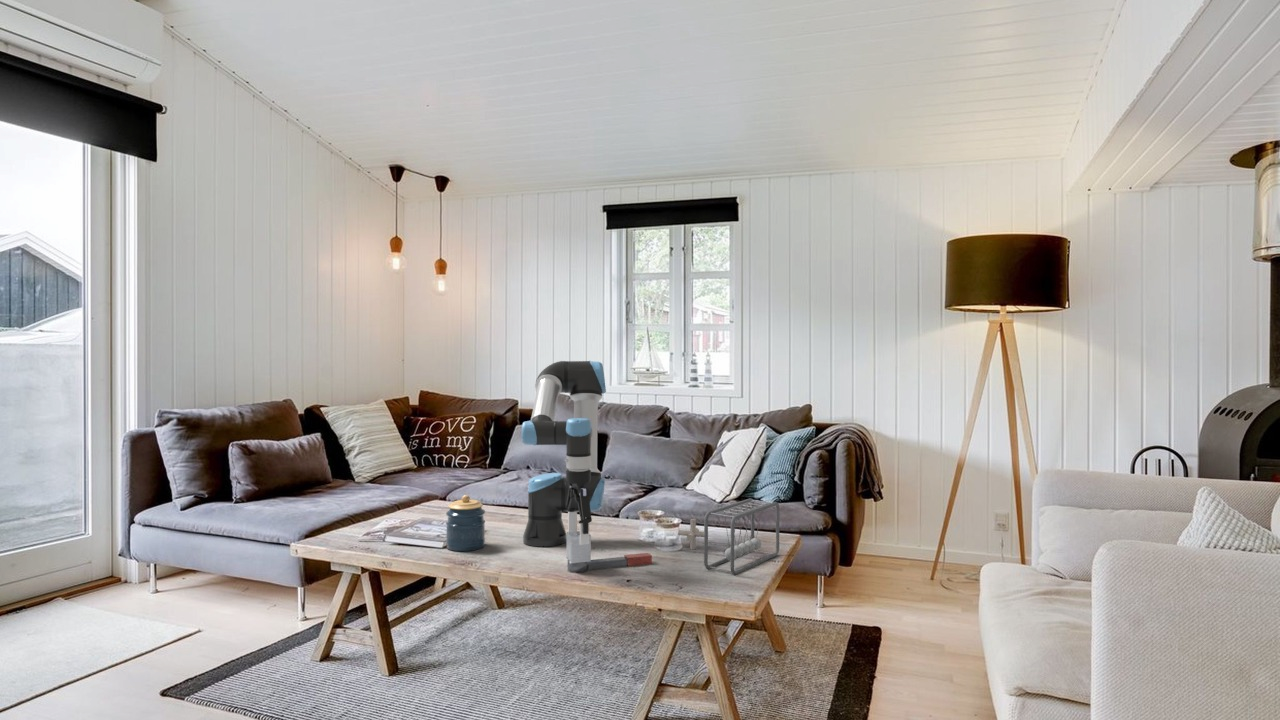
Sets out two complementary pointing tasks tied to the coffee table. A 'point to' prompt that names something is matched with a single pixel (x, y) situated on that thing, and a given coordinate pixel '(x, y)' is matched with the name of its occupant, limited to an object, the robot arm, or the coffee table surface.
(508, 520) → the coffee table surface
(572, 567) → the ratchet
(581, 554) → the light grey block
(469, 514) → the canister
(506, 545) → the coffee table surface
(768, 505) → the newton's cradle
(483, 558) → the coffee table surface
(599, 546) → the coffee table surface
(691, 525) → the beige peg jack
